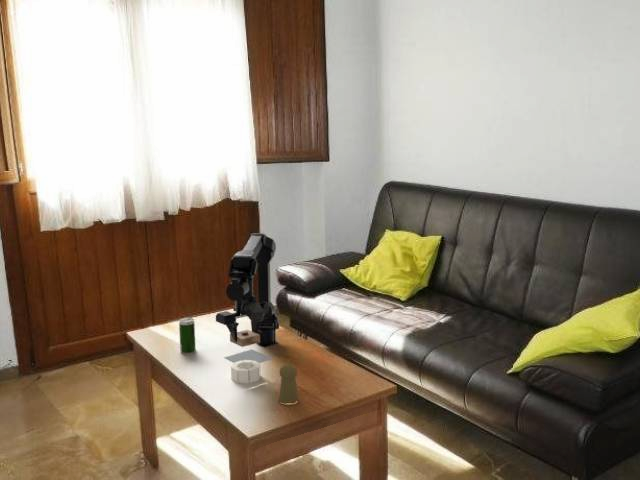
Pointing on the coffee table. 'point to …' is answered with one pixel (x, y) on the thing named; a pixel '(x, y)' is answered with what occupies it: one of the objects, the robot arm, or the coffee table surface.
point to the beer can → (187, 335)
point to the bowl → (245, 371)
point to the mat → (248, 356)
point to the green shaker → (288, 384)
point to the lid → (246, 338)
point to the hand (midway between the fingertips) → (245, 339)
